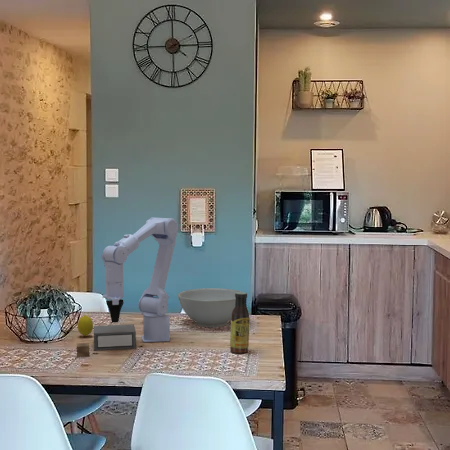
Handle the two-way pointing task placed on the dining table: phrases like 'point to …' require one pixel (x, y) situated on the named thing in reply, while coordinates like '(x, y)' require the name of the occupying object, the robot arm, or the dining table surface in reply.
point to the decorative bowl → (208, 306)
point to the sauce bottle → (240, 325)
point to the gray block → (113, 331)
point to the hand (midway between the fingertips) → (115, 322)
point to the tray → (114, 340)
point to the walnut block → (83, 350)
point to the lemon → (85, 325)
